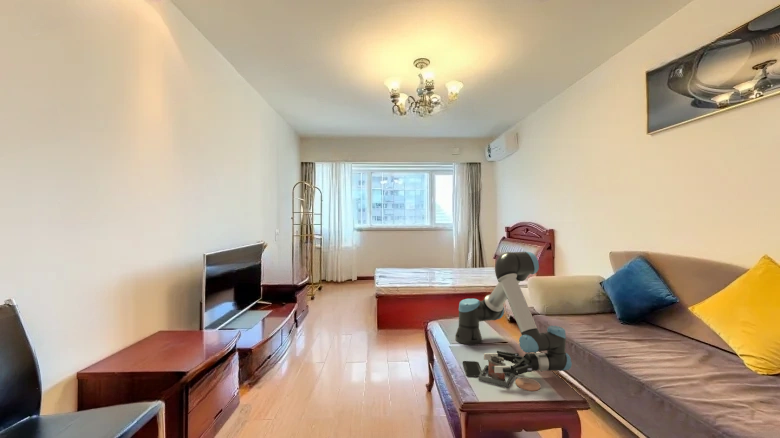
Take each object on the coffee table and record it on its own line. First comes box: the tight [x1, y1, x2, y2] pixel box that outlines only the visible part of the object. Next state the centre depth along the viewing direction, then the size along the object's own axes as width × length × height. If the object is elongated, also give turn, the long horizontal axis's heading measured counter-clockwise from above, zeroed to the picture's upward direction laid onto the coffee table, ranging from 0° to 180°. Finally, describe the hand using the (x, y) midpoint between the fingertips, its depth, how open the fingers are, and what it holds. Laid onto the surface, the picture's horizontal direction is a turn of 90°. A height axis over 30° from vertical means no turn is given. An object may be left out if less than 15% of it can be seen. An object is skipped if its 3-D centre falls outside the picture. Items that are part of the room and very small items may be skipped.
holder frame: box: [478, 364, 515, 389], centre depth 150 cm, size 13×13×2 cm
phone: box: [462, 360, 485, 379], centre depth 158 cm, size 8×1×15 cm
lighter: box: [487, 355, 507, 382], centre depth 150 cm, size 8×3×10 cm, turn 44°
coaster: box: [514, 377, 541, 392], centre depth 145 cm, size 10×10×1 cm
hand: (489, 362), depth 150 cm, fingers open, 12 cm apart
